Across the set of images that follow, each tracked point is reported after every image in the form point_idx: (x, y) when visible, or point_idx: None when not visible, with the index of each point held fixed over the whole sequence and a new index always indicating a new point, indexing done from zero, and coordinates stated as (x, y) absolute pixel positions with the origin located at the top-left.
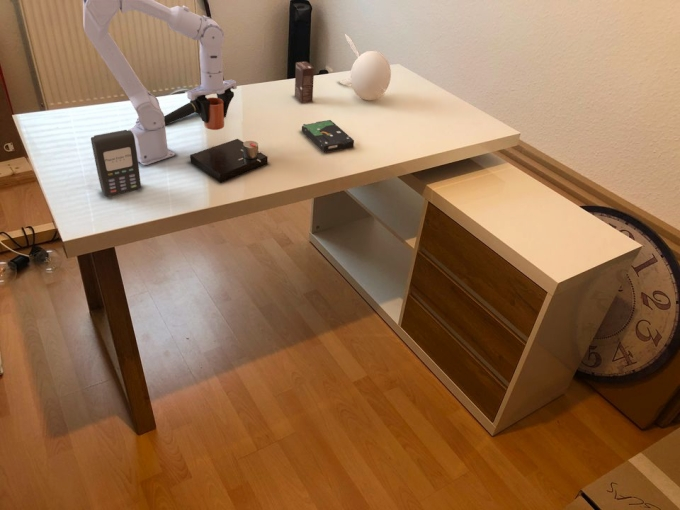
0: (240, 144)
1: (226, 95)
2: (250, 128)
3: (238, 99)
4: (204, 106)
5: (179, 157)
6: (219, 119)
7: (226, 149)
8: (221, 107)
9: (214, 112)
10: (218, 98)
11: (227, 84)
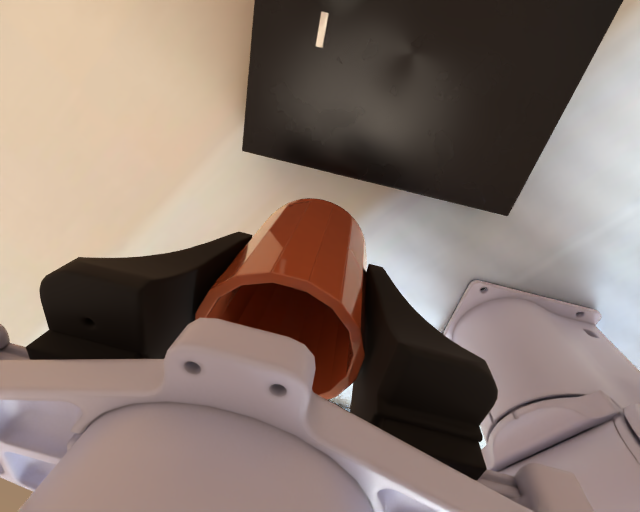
0: (275, 96)
1: (151, 305)
2: (117, 203)
3: None
4: (450, 343)
5: (472, 261)
6: (319, 222)
7: (363, 116)
8: (275, 256)
9: (344, 266)
10: None
11: (8, 414)
